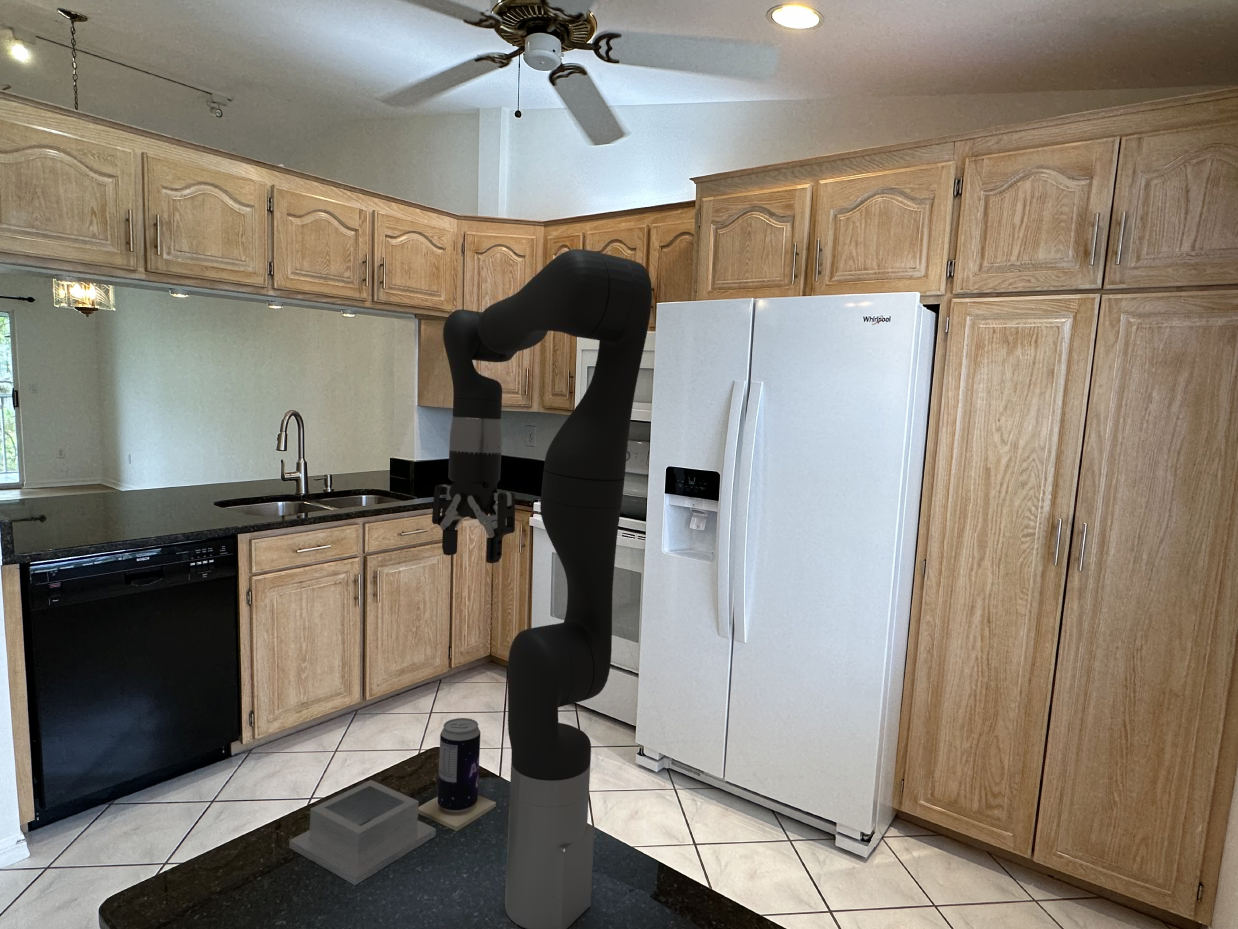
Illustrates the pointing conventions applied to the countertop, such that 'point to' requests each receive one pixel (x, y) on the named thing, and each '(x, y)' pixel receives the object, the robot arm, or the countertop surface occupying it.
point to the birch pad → (455, 819)
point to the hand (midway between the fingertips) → (470, 558)
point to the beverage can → (459, 765)
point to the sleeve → (362, 831)
